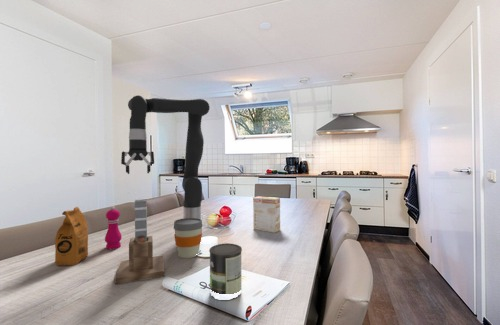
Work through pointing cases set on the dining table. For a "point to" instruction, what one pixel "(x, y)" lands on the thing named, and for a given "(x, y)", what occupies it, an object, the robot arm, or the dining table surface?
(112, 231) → the pepper mill
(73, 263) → the coffee package
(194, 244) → the reusable coffee cup
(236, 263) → the coffee can
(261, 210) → the coffeecake box
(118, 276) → the stand
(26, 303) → the dining table surface
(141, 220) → the column
